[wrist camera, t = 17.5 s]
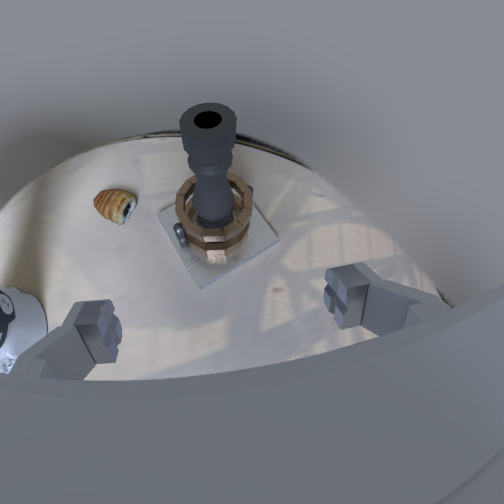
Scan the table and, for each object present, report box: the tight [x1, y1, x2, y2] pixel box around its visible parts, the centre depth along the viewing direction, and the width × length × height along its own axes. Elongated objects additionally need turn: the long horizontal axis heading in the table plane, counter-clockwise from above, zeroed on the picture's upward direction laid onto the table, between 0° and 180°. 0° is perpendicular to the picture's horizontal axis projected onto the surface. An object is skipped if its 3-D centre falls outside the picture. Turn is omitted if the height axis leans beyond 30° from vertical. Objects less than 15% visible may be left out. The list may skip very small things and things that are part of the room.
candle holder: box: [179, 103, 237, 243], centre depth 36 cm, size 6×6×25 cm
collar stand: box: [157, 172, 279, 290], centre depth 45 cm, size 16×16×10 cm
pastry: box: [94, 189, 136, 225], centre depth 48 cm, size 9×7×4 cm
